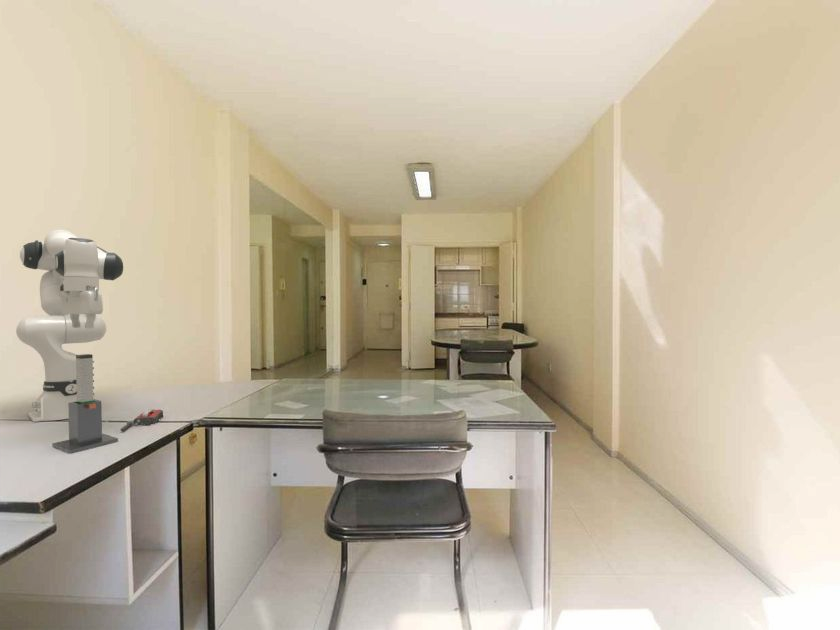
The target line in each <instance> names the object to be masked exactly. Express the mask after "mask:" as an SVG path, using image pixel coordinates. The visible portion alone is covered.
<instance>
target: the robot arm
mask: <svg viewBox="0 0 840 630" xmlns="http://www.w3.org/2000/svg"><path fill="white" fill-rule="evenodd" d="M19 259H20V261H21V262H22V263H21V264H22V265H23V266H24V267H25V268H28V269H32V270H41V271H47V272H44V273H43V274H42V275H41V279H40V283H39V295H40V296H39V297H40V305H41V306H40V307H41V309H42V310H43V311H44V312H45V313H46V314H47V315H38V316H37V315H36V316H30V317H24V318H22V319H21V320H20V321H19V322H18V324H17V326H16V331H15V332H16V336H17V338H18V339H19V341H20V342H22V343H23V344H26V345H27V346H29V347H31V348H33V349H34V350H35V351H36V353H38V354H39V355H40V357H41V359H42V363H43V367H44V376H45V377H44V379H45V380H44V381H43V385H42V390H43V391H42V393H41V394H40V395H39V397H38V398H37V399H36V401H33V402H31V408H32V409H36V410H34V411H31V412H28V417H29V419H30V420H31V421H32V422H33V423H34V422H35V423H36V422H45V421H46V422H47V421H48V422H49V421H59V420H60V421H61V420H69V406H68V403H70V402H76V401H77V385H76V355H78V354H76V353H74V352H70V351H67V350H65V349H64V348H63V345H64V344H69V345H70V344H84V343H87V344H88V343H92V342H97V341H99V340H101V339H102V338H103V337H104V336H105V335H106V332H107V325H106V322H105V321H104V320H103V318H102V317H100V316H97V315H102V314H103V311H104V306H103V305H104V304H103V297H102V293H101V292H100V280H103V281H104V280H105V281H106V280H107V281H115V280H117V279H118V278H120V277H121V276H122V275H123V272H124V262H123V260H122V258H121V257H120V256H119V255H118V254H117V253H115V252H108V251H106V250H105V249H103V248H101V247H99V246H97V243H96V241H94V240H93V239H89V238H80V237H79V236H78V235H76V234H75V233H73V232H72V231H70V230H66V229H61V228H60V229H53V230H51V231H49V232H48V233H47V234H46V235H45V238H44V242H43V241H39V240H37V239H36V240H34V241H31V242H28V243H25V244H24V245H23V246H22V248H21V249H20V251H19Z"/></svg>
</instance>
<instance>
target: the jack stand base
mask: <svg viewBox="0 0 840 630" xmlns="http://www.w3.org/2000/svg"><path fill="white" fill-rule="evenodd" d="M93 400H94V402H90V403H84V404H77V403H76V402H70V403H68V406H69V419H68V439H64V440H62V441H61V440H60V441H56V442H52V444H51V447H52V448H54V449H57V450H60V451H62V452H64V453H68V454H69V453H71V454H74V452H75V453H78V451H79V452H82V450H83V451H86V450H90V449H94V448H98V447H101V445H102V446H105V444H106V445H109V443H110V444H113V442H114V443H117V441H118V442H119V438H118V437H115V436H113V435H109V434H106V433H103V425H102V424H103V420H102V419H103V418H102V415H103V413H102V412H103V411H102V406H103V405H102V400H98V399H94V398H93ZM97 446H98V447H97ZM93 447H94V448H93ZM89 448H90V449H89Z"/></svg>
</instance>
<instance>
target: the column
mask: <svg viewBox="0 0 840 630" xmlns="http://www.w3.org/2000/svg"><path fill="white" fill-rule="evenodd" d="M94 363H95V360H93V354H92V353H83V354H77V355H76V385H77V401H76V403H77V404H84V403H90V402H94V400H93V399H94V396H95V392H94V389H95V386H94V382H95V380H94V376H95V373H94V370H95V367H94Z"/></svg>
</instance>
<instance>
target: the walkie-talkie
mask: <svg viewBox="0 0 840 630" xmlns="http://www.w3.org/2000/svg"><path fill="white" fill-rule="evenodd" d="M163 417H164V410H162V409H154V408H153V409H152V408H151V409H147V410H144V411H143V412H142V413H140V414H139V415H138V416H134V417H131V418H130V419H128V420H127V421H126V424H125V425H123V426H122V427H121V428H120V431H121V432H124V431H125V430H126V429H127V428H129V427H132V426H131V425H134V426H133V427H137V426H136V425H141V426H151V425H150V424H153V425H156V424H157V423H158V422H159V421H160V420H161V419H162V418H163ZM159 419H160V420H159ZM157 421H158V422H157ZM156 422H157V423H156ZM155 423H156V424H155ZM143 424H145V425H143Z"/></svg>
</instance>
